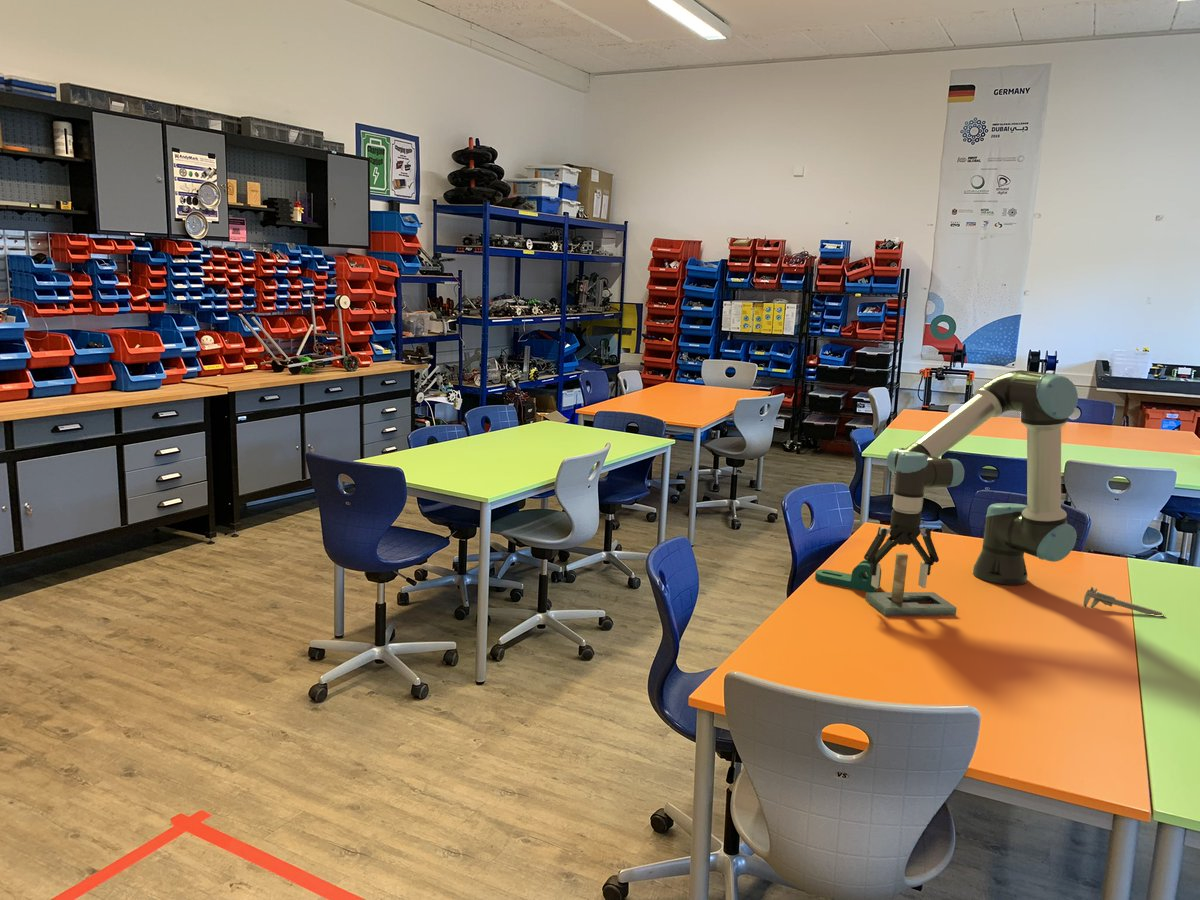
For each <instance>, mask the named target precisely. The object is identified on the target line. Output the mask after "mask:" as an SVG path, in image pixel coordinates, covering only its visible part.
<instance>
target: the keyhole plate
mask: <svg viewBox="0 0 1200 900" xmlns="http://www.w3.org/2000/svg"><path fill="white" fill-rule="evenodd" d="M891 597H892V591H890V592H877V591H876V592H866V593H865V601H866V602H867V603H868V602H869V603H868V604H870V605H871V607H873V606H874V607H873V608H874V609H876V610H877V612H880V613H881V614H882V615H883V616H884V617H908V616H909V617H913V616H914V617H917V616H918V617H919V616H920V617H922V616H923V617H924V616H925V617H929V616H930V617H931V616H932V617H934V616H935V617H936V616H939V617H940V616H944V617H946V616H949V617H950V616H956V615H957V607H956V606H955V605H953V604H952V602H951V603H950V602H949V601H948V600H946V599H945V598H943V597H941V595H939V594H937V593H936V592H933V591H931V592H930V591H925V592H924V591H921V592H920V591H919V592H918V591H913V592H912V591H911V592H910V591H909V592H908V591H904V595H903V603H893V602H892V601H891ZM919 602H920V603H919ZM922 602H923V603H922ZM924 602H925V603H926V604H925V603H924ZM921 603H922V604H921Z"/></svg>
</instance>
